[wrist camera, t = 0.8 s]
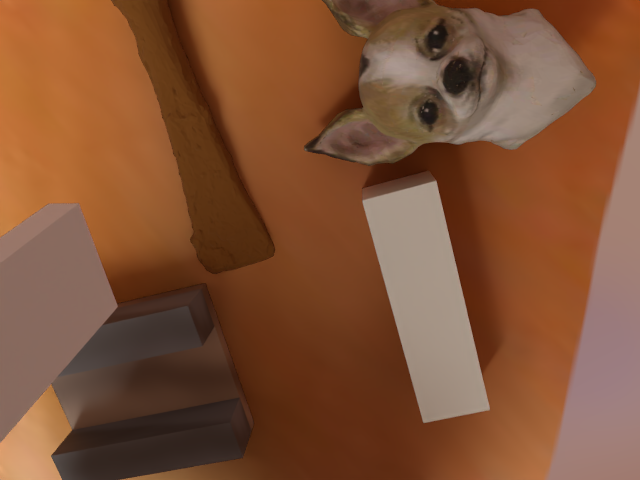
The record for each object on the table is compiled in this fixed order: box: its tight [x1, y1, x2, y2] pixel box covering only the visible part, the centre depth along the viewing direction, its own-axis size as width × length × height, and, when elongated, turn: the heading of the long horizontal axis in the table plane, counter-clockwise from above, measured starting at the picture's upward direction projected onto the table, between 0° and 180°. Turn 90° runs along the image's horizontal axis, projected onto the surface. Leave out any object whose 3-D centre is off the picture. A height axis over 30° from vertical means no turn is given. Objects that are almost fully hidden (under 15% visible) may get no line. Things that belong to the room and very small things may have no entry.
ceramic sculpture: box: [304, 0, 596, 166], centre depth 29 cm, size 11×9×15 cm
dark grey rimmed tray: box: [51, 283, 254, 480], centre depth 39 cm, size 12×14×4 cm
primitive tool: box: [111, 0, 275, 274], centre depth 34 cm, size 19×6×4 cm, turn 19°
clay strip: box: [362, 171, 490, 423], centre depth 36 cm, size 16×4×4 cm, turn 16°
